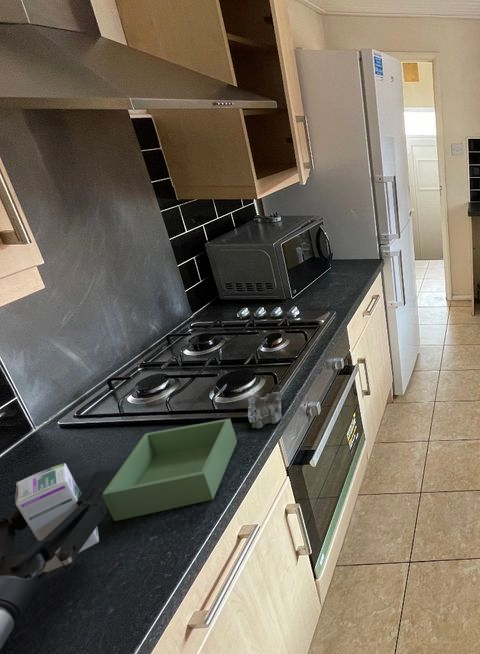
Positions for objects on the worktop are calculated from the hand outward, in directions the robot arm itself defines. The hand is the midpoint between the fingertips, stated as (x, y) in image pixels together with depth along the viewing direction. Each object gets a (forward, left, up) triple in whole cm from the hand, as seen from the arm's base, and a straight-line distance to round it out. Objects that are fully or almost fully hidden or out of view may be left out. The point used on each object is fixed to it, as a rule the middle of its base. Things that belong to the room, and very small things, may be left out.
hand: (71, 484), depth 73 cm
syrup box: (0, -5, -9) cm, 10 cm away
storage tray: (+9, +11, -13) cm, 20 cm away
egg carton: (+23, +28, -13) cm, 38 cm away
